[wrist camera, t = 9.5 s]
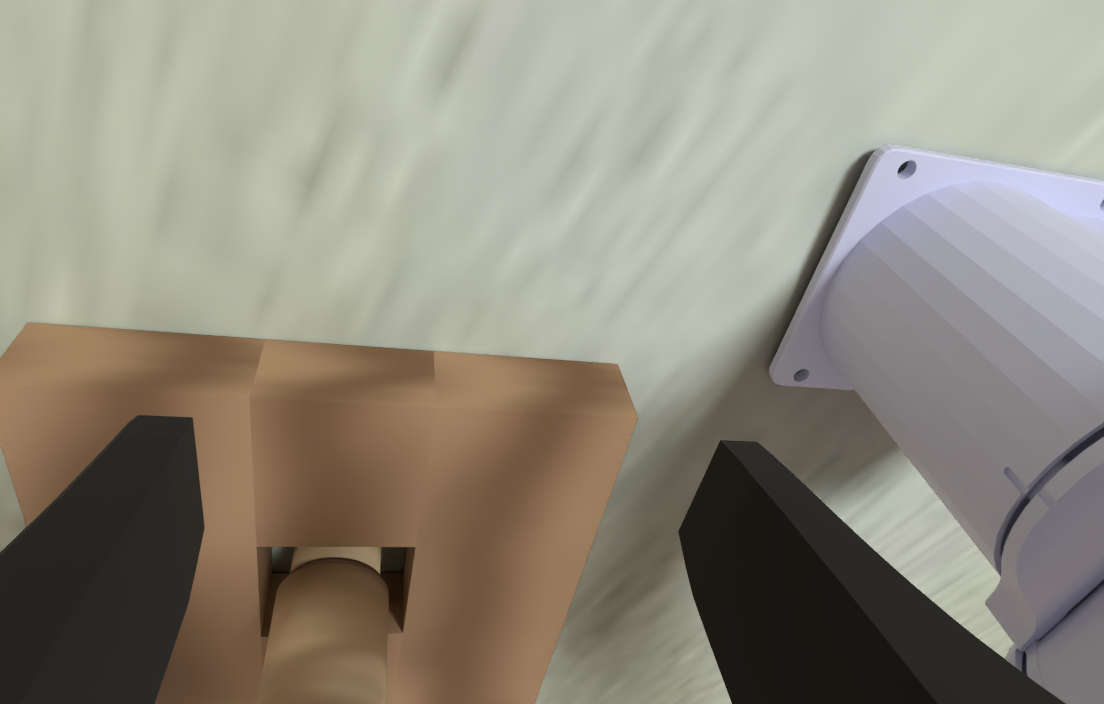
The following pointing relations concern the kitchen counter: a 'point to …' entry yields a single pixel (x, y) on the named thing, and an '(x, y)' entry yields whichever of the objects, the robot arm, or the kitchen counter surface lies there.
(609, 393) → the board
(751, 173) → the kitchen counter surface
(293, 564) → the peg
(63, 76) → the kitchen counter surface
